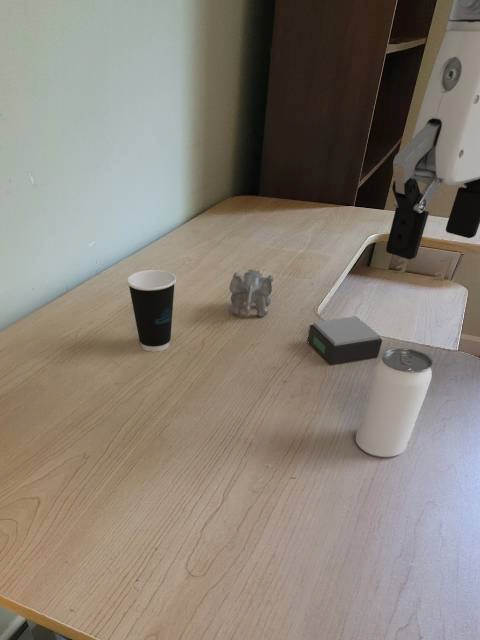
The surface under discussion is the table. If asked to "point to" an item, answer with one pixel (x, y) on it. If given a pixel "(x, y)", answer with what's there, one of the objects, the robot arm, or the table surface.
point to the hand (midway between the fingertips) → (430, 244)
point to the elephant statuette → (251, 292)
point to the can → (394, 402)
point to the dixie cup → (153, 307)
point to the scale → (344, 340)
